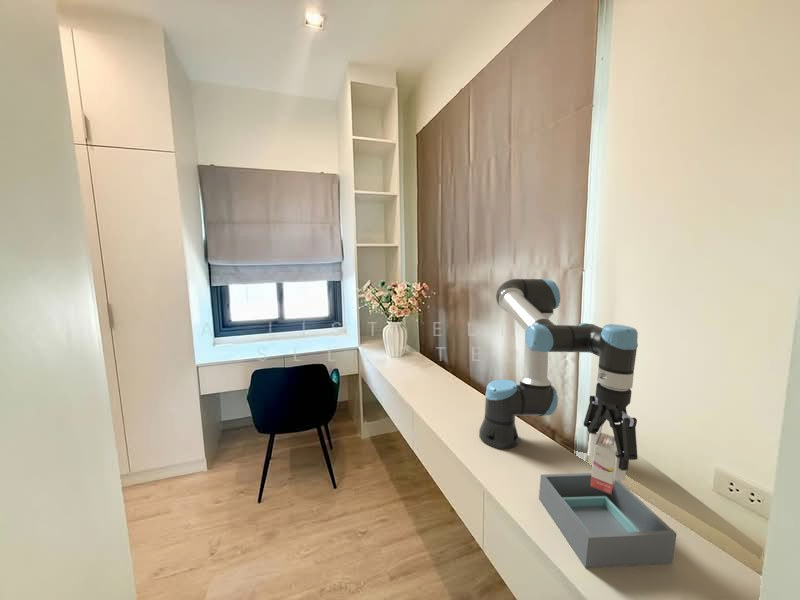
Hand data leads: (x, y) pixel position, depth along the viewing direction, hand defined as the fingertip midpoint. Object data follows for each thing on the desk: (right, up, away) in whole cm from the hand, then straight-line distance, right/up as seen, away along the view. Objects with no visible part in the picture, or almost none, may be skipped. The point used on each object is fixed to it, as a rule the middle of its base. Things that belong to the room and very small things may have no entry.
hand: (604, 466), depth 85 cm
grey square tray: (0, -18, +2) cm, 18 cm away
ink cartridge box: (0, -5, +1) cm, 5 cm away
